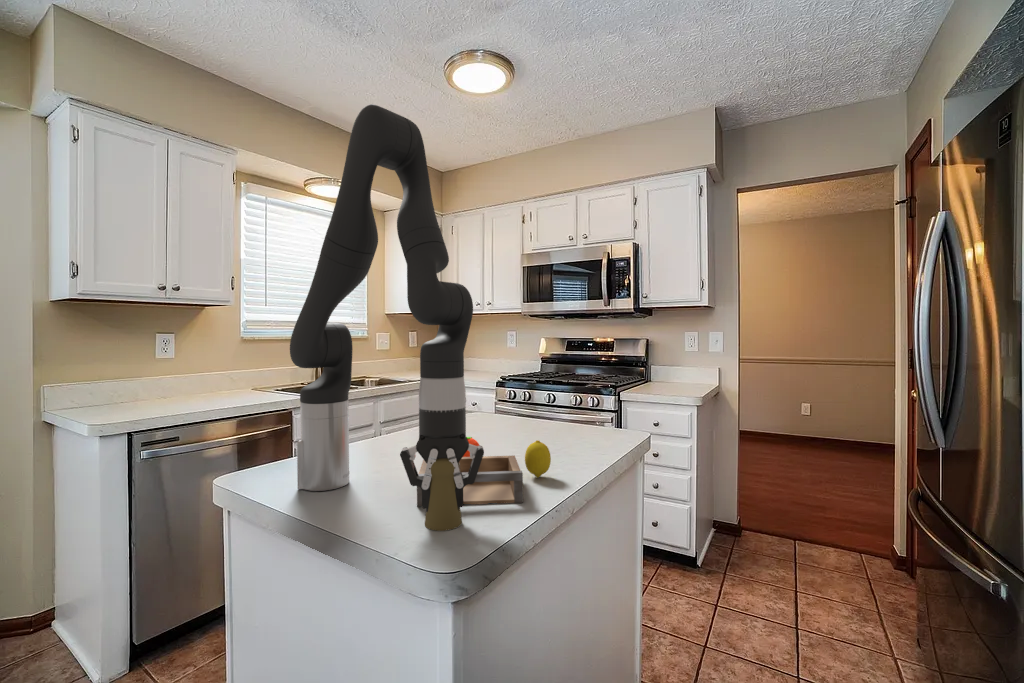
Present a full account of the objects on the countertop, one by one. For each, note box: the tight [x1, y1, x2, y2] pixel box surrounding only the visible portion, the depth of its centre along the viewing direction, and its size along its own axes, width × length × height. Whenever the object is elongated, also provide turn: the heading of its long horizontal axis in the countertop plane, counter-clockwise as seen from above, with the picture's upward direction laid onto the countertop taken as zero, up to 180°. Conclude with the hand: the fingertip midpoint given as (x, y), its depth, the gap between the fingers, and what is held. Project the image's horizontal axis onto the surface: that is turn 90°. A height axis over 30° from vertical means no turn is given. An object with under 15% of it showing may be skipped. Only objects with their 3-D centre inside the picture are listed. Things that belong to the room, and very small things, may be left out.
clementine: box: [463, 436, 480, 457], centre depth 112 cm, size 8×7×7 cm
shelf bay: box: [416, 455, 524, 508], centre depth 94 cm, size 19×14×6 cm
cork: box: [424, 458, 463, 532], centre depth 78 cm, size 6×6×11 cm
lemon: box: [524, 439, 552, 478], centre depth 103 cm, size 6×6×8 cm
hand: (443, 509), depth 78 cm, fingers closed on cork, 4 cm apart
